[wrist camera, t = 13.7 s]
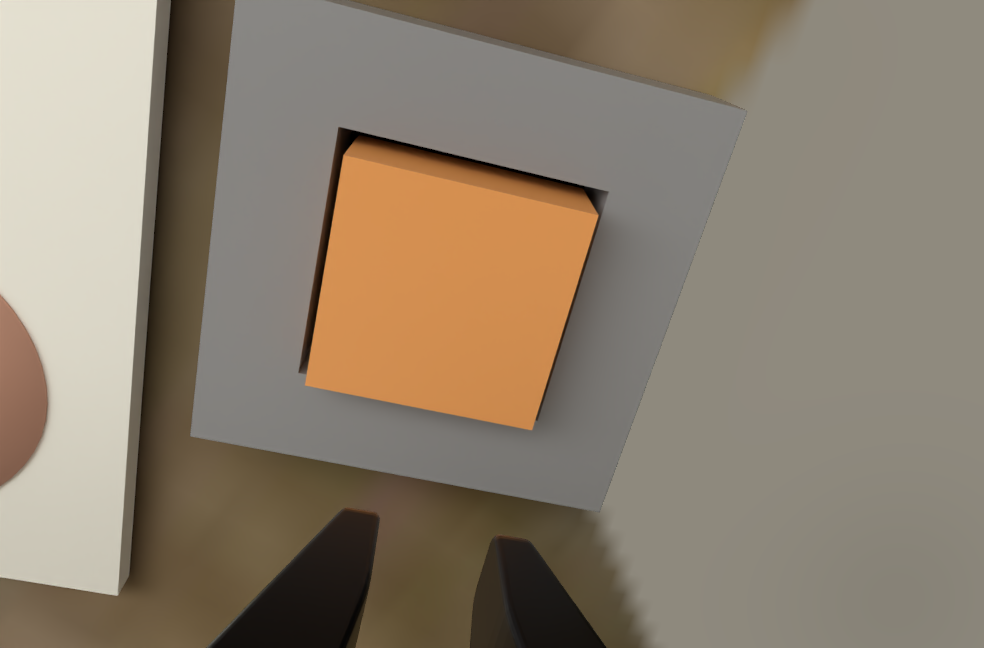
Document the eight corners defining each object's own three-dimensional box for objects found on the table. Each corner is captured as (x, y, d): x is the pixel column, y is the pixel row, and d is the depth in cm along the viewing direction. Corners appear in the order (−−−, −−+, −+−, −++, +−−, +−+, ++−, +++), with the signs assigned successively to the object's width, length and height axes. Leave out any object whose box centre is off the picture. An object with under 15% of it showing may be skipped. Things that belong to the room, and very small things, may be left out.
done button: (582, 188, 17) (598, 215, 15) (525, 382, 19) (531, 430, 17) (358, 134, 16) (343, 154, 14) (322, 341, 18) (304, 385, 16)
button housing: (710, 94, 17) (748, 110, 15) (585, 456, 21) (599, 512, 19) (270, -21, 16) (237, -23, 14) (222, 385, 20) (190, 436, 18)
